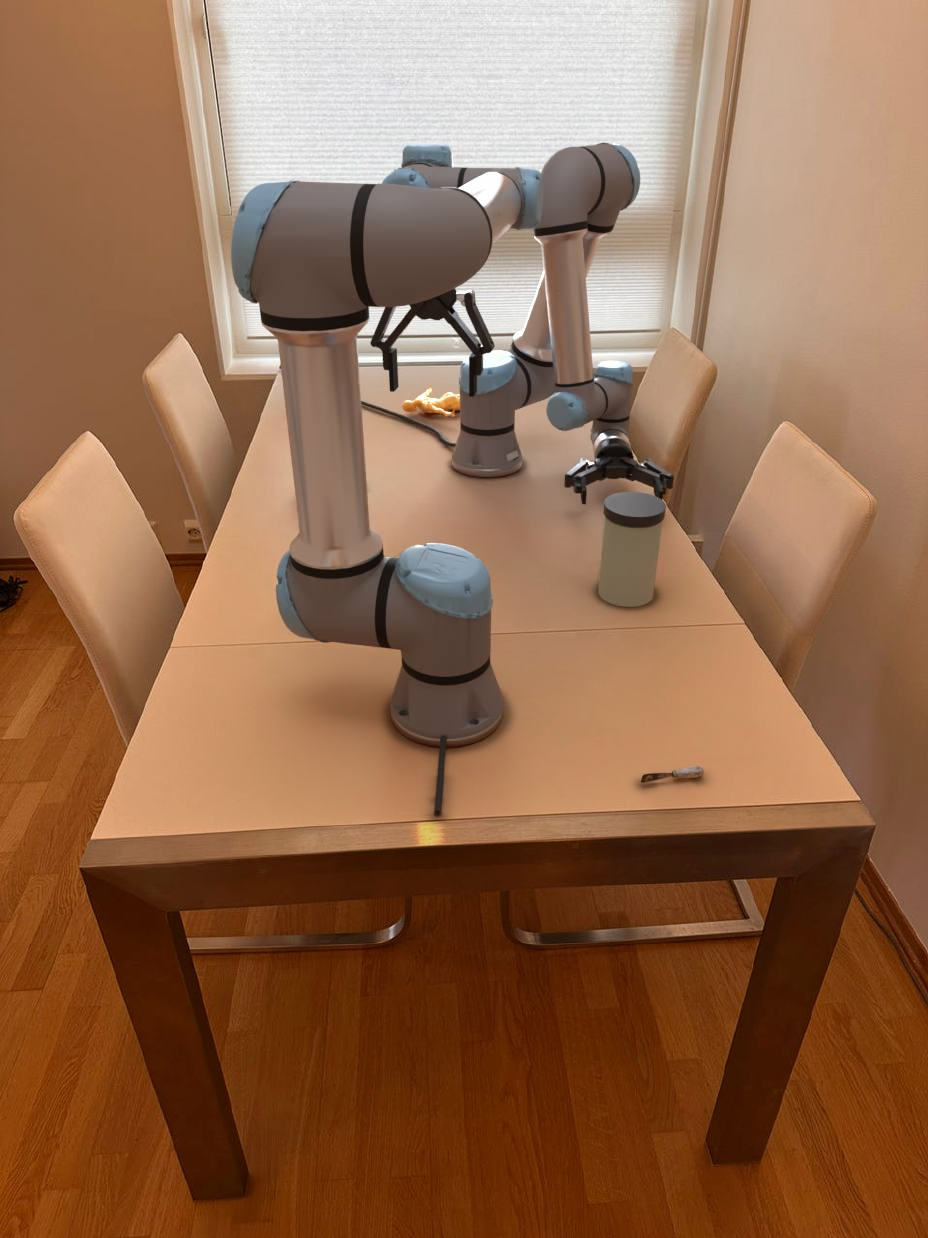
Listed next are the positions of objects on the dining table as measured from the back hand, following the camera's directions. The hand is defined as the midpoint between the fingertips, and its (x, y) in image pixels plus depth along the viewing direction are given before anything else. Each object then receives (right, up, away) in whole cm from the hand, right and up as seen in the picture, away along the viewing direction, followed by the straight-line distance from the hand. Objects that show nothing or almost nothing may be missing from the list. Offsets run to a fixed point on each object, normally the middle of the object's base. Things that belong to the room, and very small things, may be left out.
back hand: (622, 498), depth 161 cm
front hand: (-34, +16, -11) cm, 39 cm away
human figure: (-32, +31, +65) cm, 79 cm away
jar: (-2, -17, -13) cm, 22 cm away
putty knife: (-3, -42, -51) cm, 66 cm away
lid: (-2, -4, -21) cm, 22 cm away
